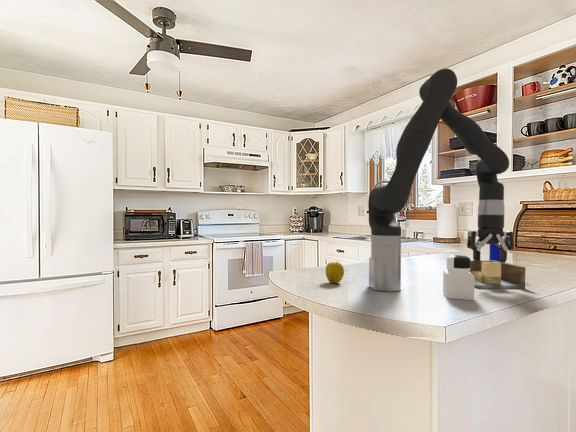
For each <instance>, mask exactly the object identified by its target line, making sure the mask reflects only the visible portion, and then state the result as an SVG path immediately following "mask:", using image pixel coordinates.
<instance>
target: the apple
mask: <svg viewBox="0 0 576 432" xmlns="http://www.w3.org/2000/svg"><path fill="white" fill-rule="evenodd" d="M325 276H326V278H327V281H328V283H330V284H338V283H340V282H342V280H343V277H344V276H345V269H344V266H343V264H341V262H339V260H337V261H335V262H328V263H327V264H326V266H325Z"/></svg>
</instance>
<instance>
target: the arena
mask: <svg viewBox="0 0 576 432" xmlns="http://www.w3.org/2000/svg"><path fill="white" fill-rule="evenodd" d="M482 262H499V261H495V260H489V259H488V260H487V259H486V260H484V259H483V260H482V259H480V262H475V261H474V260H473V259H470V271H481V267H482ZM499 263H501V284H484V283H481V282H478V281H475V285H474V289H479V290H480V289H481V290H482V289H484V290H485V289H486V290H487V289H489V290H491V289H492V290H493V289H494V290H495V289H496V290H499V289H504V290H505V289H507V290H508V289H509V290H511V289H516V290H517V289H518V290H519V289H521V290H523V289H524V290H525V289H526V267H525V266H522V265H517V264H512V263H508V262H505V263H502V262H499Z"/></svg>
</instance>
